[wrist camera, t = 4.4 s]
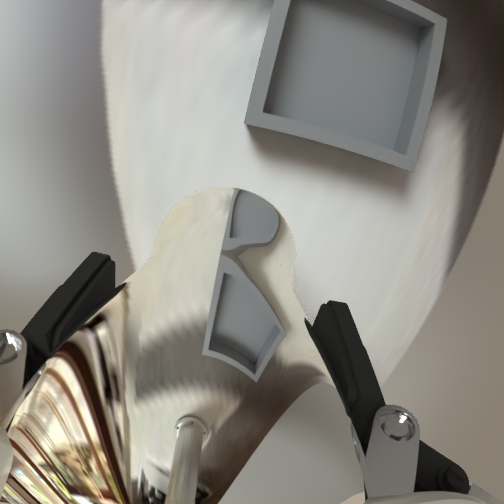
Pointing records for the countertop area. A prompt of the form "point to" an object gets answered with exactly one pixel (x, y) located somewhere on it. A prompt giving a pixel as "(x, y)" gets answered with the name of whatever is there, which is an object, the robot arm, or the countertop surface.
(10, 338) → the robot arm
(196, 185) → the countertop surface
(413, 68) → the tray
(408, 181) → the countertop surface
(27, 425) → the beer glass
